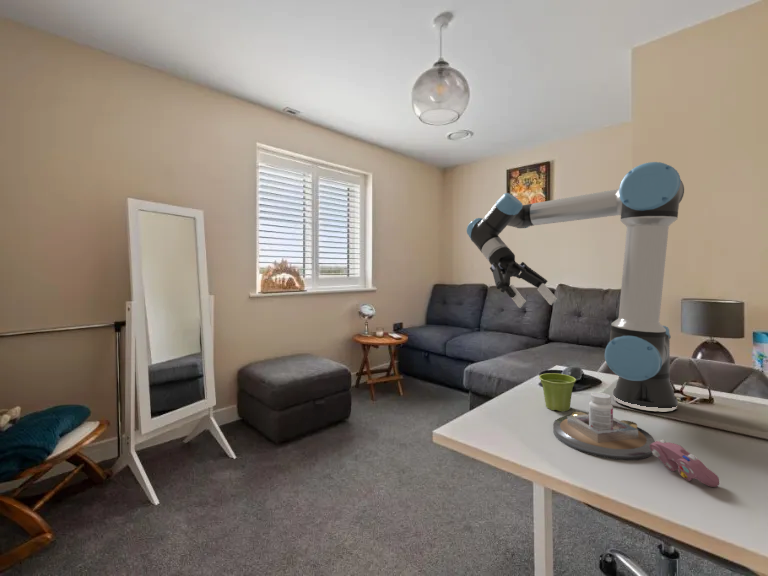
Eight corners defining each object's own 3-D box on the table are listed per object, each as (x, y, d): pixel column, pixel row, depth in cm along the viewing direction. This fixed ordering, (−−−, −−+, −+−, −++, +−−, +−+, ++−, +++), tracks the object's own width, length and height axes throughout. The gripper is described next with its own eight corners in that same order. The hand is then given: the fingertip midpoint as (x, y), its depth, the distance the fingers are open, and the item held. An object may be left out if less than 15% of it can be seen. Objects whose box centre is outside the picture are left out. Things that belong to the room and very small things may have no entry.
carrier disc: (606, 417, 94) (606, 404, 94) (680, 454, 74) (680, 437, 74) (536, 424, 91) (536, 410, 91) (593, 464, 71) (593, 446, 71)
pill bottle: (616, 436, 80) (616, 398, 80) (593, 434, 81) (593, 397, 81) (608, 427, 85) (607, 392, 84) (586, 426, 86) (585, 391, 85)
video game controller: (655, 469, 72) (640, 439, 72) (673, 457, 72) (659, 428, 72) (704, 499, 62) (688, 465, 62) (725, 485, 63) (709, 452, 62)
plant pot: (555, 416, 96) (554, 384, 96) (532, 404, 105) (532, 374, 105) (584, 411, 98) (583, 380, 98) (559, 400, 108) (559, 371, 107)
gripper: (518, 263, 125) (557, 308, 112) (463, 263, 113) (501, 314, 100) (531, 246, 120) (573, 292, 108) (475, 244, 108) (516, 296, 96)
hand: (538, 303), depth 104 cm, fingers open, 13 cm apart
